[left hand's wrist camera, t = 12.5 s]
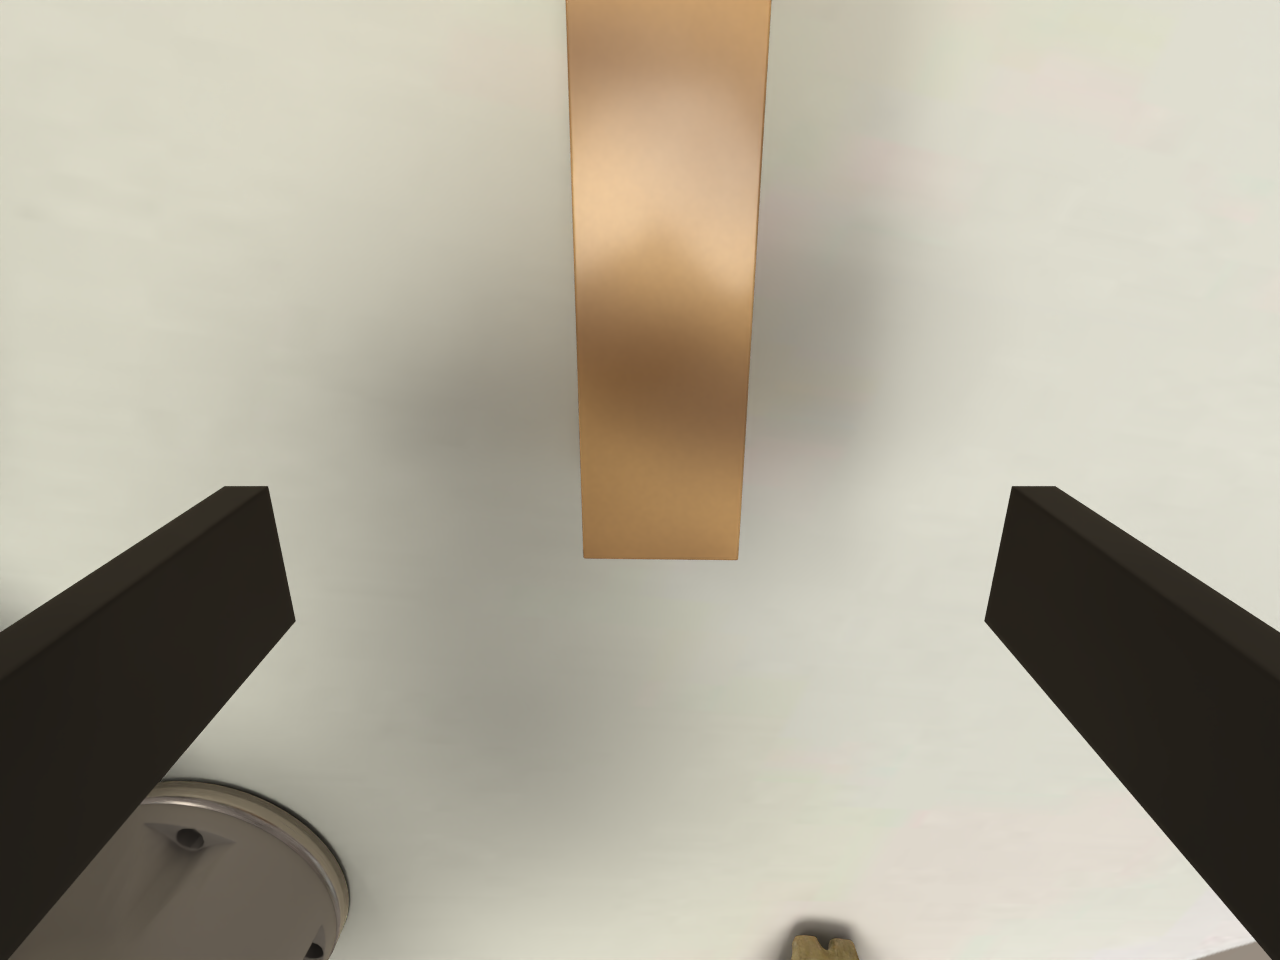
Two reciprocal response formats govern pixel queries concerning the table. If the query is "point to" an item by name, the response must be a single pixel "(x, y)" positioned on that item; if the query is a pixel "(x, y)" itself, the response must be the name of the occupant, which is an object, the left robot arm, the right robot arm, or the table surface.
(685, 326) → the post
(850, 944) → the sculpture
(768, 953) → the table surface
